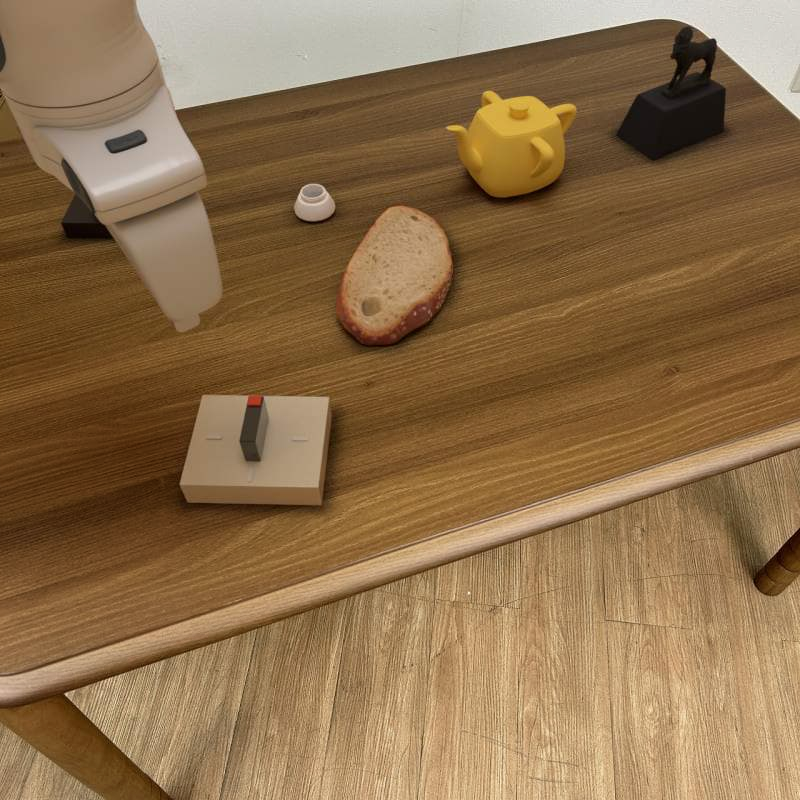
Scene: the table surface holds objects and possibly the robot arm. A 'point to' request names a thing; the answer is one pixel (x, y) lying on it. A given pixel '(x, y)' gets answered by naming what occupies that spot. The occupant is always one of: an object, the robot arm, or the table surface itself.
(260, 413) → the red-tipped dark block
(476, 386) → the table surface
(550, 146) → the teapot
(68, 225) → the control block
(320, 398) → the panel
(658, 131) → the sculpture
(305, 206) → the lidless jar
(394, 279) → the slice of bread
